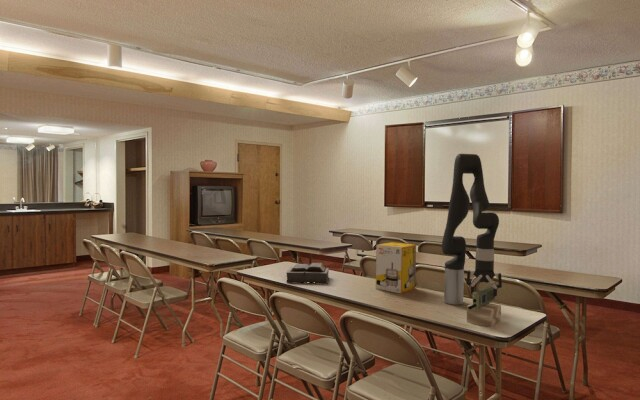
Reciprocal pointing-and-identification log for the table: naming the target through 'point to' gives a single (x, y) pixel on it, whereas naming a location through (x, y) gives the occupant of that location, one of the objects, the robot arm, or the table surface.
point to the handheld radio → (482, 297)
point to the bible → (308, 273)
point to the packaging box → (395, 267)
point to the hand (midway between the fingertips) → (483, 295)
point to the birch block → (484, 314)
